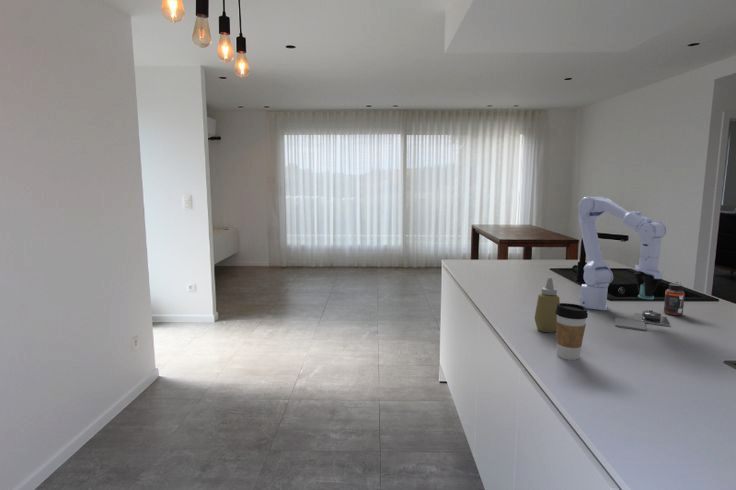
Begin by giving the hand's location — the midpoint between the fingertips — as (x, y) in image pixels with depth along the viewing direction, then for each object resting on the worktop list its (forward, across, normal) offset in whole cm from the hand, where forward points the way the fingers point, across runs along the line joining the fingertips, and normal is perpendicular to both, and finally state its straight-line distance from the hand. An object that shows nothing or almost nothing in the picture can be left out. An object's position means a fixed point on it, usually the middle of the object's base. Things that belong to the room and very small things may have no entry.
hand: (645, 294), depth 152 cm
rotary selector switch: (+10, -3, +4) cm, 11 cm away
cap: (+1, 0, 0) cm, 1 cm away
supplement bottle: (+10, -12, +16) cm, 23 cm away
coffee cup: (+10, +35, -36) cm, 52 cm away
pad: (+10, +4, -6) cm, 12 cm away
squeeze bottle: (+10, +14, -36) cm, 40 cm away
